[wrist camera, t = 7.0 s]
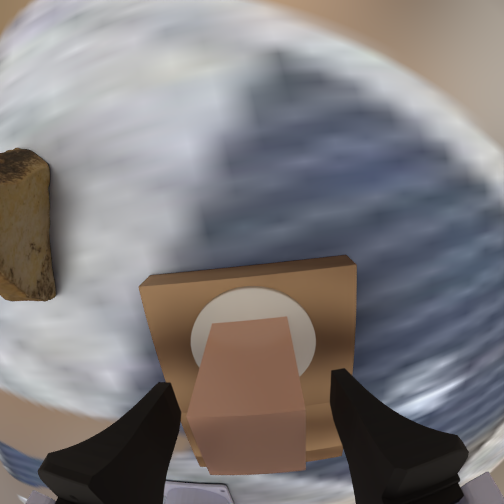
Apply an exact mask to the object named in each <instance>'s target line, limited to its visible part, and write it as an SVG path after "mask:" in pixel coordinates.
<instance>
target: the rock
mask: <svg viewBox="0 0 504 504" xmlns="http://www.w3.org/2000/svg"><path fill="white" fill-rule="evenodd" d="M49 182H50V171H49V166H48V164H47V163H46V162H45V161H44V160H43V159H41V158H40V157H39V156H38V155H36V154H35V153H34V152H33V151H30V150H27V149H19V148H15V149H13V150H8V151H6V152H4V153H0V295H1V296H2V297H3V298H4V299H5V300H9V301H28V300H29V301H48V300H51V299H53V298H54V297H55V296H56V292H55V282H54V277H53V270H52V261H51V259H52V258H51V248H50V240H49V228H50V217H49V210H50V203H49V191H48V187H49Z"/></svg>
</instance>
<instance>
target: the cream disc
mask: <svg viewBox="0 0 504 504" xmlns="http://www.w3.org/2000/svg"><path fill="white" fill-rule="evenodd" d="M285 316H287V319H288V323H289V328H290V333H291V338H292V343H293V348H294V353H295V358H296V363H297V368H298V373H299V377H300V376H301V375H302V374H303V373H304V372H305V370H306V369H307V368H308V366H309V364H310V363H311V361H312V358H313V356H314V352H315V347H316V337H315V331H314V328H313V325H312V322H311V320H310V318H309V315H308V314H307V312H306V311H305V309H304V308H303V307H302V306H301V305H300V304H299V303H298V302H297V301H296V300H295V299H293V298H292V297H290V296H289V295H287V294H285V293H283V292H281V291H279V290H276V289H273V288H268V287H263V286H244V287H237V288H234V289H230V290H228V291H225V292H223V293H221V294H219V295H218V296H216V297H214V298H213V299H212V300H210V301H209V302H208V303H207V304H206V305H205V306H204V307H203V309H202V310H201V311H200V313H199V315H198V317H197V319H196V321H195V323H194V326H193V329H192V333H191V349H192V353H193V356H194V359H195V361H196V363H197V365H198V366H199V368H200V364H201V361H202V357H203V354H204V350H205V346H206V343H207V339H208V336H209V332H210V329H211V325H212V323H224V322H236V321H247V320H257V319H267V318H277V317H285Z"/></svg>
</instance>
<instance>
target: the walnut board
mask: <svg viewBox="0 0 504 504" xmlns="http://www.w3.org/2000/svg"><path fill="white" fill-rule="evenodd" d="M244 286H263V287H268V288H273V289H276V290H279V291H281V292H283V293H285V294H287V295H289V296H290V297H292V298H293V299H295V300H296V301H297V302H298V303H299V304H300V305H301V306H302V307H303V308H304V309H305V311H306V312H307V314H308V315H309V318H310V320H311V322H312V325H313V328H314V331H315V337H316V347H315V352H314V356H313V358H312V361H311V363H310V364H309V366H308V368H307V369H306V370H305V372H304V373H303V374H302V375H301V376H300V377H299V378H300V383H301V388H302V393H303V398H304V404H305V409H306V462H308V461H315V460H321V459H327V458H333V457H338V456H342V451H343V446H342V443H341V440H340V438H339V435H338V432H337V429H336V426H335V424H334V421H333V416H332V411H331V407H330V386H331V370H336V369H342V368H345V369H346V370H347V371H348V372H349V373H350V374H351V375H352V372H353V360H354V345H355V326H356V290H357V265H356V264H355V263H354V262H353V261H352V260H351V259H350V258H349V257H348V256H347V255H340V256H332V257H323V258H314V259H305V260H296V261H287V262H277V263H268V264H259V265H249V266H240V267H230V268H220V269H210V270H200V271H190V272H180V273H169V274H159V275H150V276H149V277H148V278H147V279H146V280H145V281H144V282H143V283H142V284H141V285H140V286H139V291H140V295H141V299H142V303H143V307H144V311H145V314H146V318H147V322H148V325H149V329H150V332H151V336H152V339H153V343H154V346H155V349H156V353H157V356H158V359H159V362H160V365H161V368H162V371H163V374H164V377H165V380H166V382H170V383H171V384H172V387H173V390H174V393H175V396H176V399H177V402H178V405H179V407H180V410H181V413H182V414H181V423H182V426H183V428H184V431H185V433H186V436H187V438H188V440H189V443H190V445H191V447H192V450H193V452H194V454H195V457H196V459H197V461H198V463H199V465H200V467H207V466H206V464H205V462H204V459H203V457H202V455H201V452H200V450H199V448H198V445H197V443H196V440H195V438H194V435H193V433H192V430H191V428H190V425H189V423H188V420H187V417H186V416H187V412H188V408H189V405H190V401H191V397H192V393H193V390H194V386H195V382H196V379H197V375H198V372H199V366H198V365H197V363H196V361H195V359H194V356H193V353H192V349H191V333H192V329H193V326H194V323H195V321H196V319H197V317H198V315H199V313H200V311H201V310H202V309H203V307H204V306H205V305H206V304H207V303H208V302H209V301H210V300H212V299H213V298H214V297H216V296H218V295H219V294H221V293H223V292H225V291H228V290H230V289H234V288H237V287H244Z"/></svg>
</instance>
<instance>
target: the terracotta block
mask: <svg viewBox="0 0 504 504" xmlns="http://www.w3.org/2000/svg"><path fill="white" fill-rule="evenodd" d="M186 417H187V420H188V423H189V425H190V428H191V430H192V433H193V435H194V438H195V440H196V443H197V445H198V448H199V450H200V452H201V455H202V457H203V459H204V462H205V464H206V466H207V469H208V471H209V473H210V475H251V474H269V473H281V472H291V471H300V470H306V409H305V404H304V398H303V393H302V388H301V383H300V378H299V373H298V368H297V363H296V358H295V353H294V348H293V343H292V338H291V333H290V328H289V323H288V319H287V316H285V317H277V318H267V319H257V320H247V321H236V322H224V323H212V325H211V329H210V332H209V336H208V339H207V343H206V346H205V350H204V354H203V357H202V361H201V364H200V368H199V372H198V375H197V379H196V382H195V386H194V390H193V393H192V397H191V401H190V405H189V408H188V412H187V416H186Z"/></svg>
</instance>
